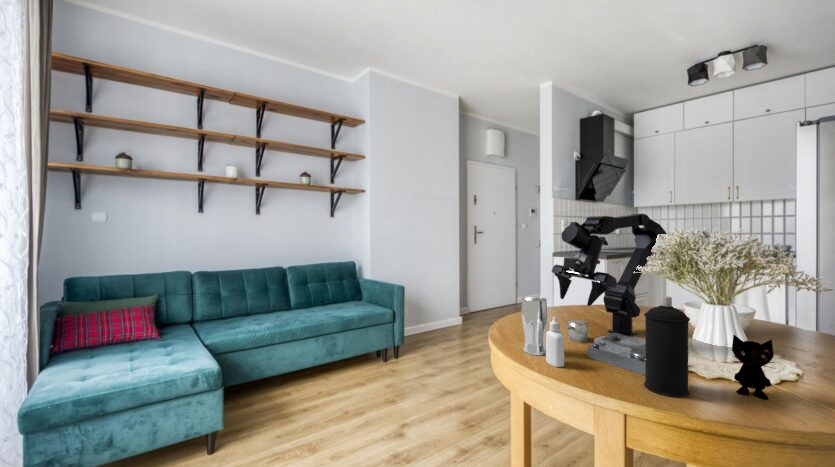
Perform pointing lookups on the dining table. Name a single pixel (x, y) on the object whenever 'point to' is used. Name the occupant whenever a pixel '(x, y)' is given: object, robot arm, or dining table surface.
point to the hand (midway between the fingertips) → (574, 302)
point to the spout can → (577, 330)
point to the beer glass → (534, 324)
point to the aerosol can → (666, 350)
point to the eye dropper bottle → (555, 345)
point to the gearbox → (619, 351)
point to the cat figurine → (752, 365)
